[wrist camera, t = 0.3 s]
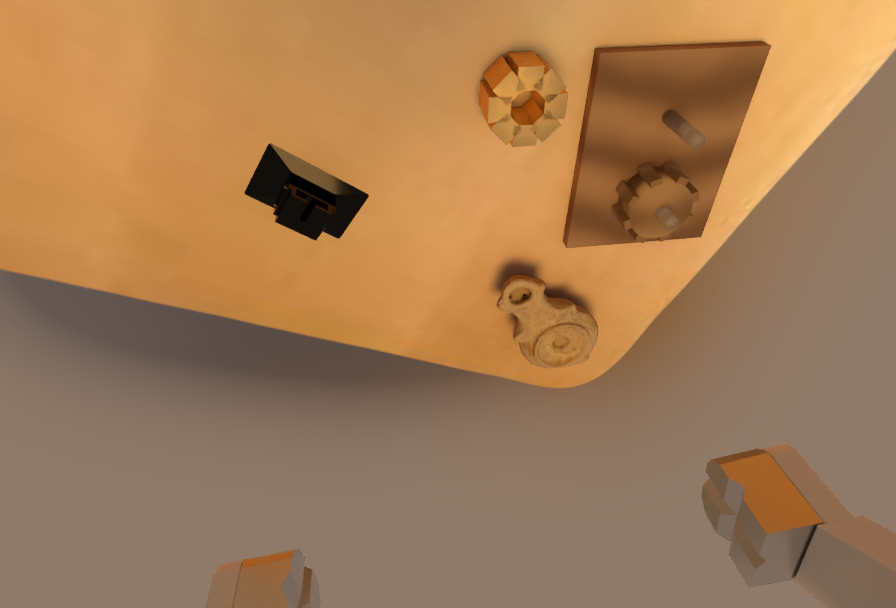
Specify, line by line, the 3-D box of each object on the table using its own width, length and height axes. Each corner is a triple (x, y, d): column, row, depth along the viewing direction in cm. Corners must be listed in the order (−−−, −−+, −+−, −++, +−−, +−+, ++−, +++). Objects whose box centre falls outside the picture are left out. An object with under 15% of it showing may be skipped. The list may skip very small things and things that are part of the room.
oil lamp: (506, 252, 54) (517, 283, 50) (617, 288, 59) (635, 319, 55) (459, 326, 59) (466, 359, 56) (564, 353, 65) (577, 385, 61)
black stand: (389, 193, 48) (392, 220, 45) (349, 251, 52) (348, 280, 48) (254, 120, 42) (246, 144, 39) (219, 190, 46) (208, 219, 42)
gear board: (595, 48, 42) (625, 74, 37) (762, 41, 43) (812, 65, 39) (562, 241, 53) (583, 279, 49) (695, 230, 55) (727, 266, 50)
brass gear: (481, 53, 41) (490, 68, 38) (557, 50, 41) (572, 64, 39) (478, 129, 45) (486, 148, 42) (548, 125, 45) (560, 143, 43)
